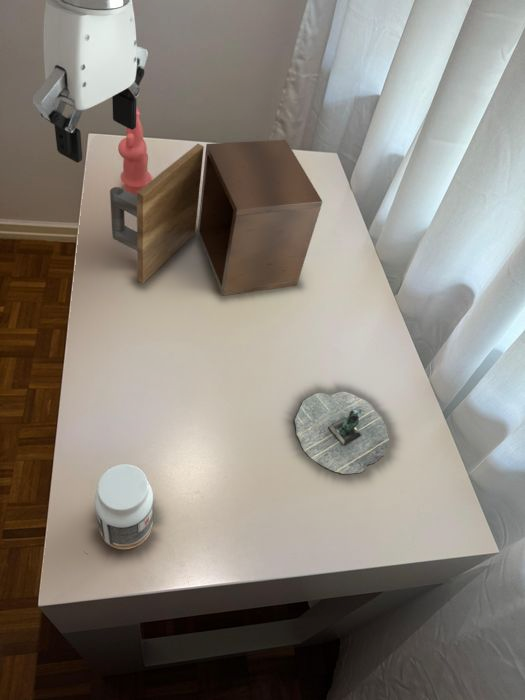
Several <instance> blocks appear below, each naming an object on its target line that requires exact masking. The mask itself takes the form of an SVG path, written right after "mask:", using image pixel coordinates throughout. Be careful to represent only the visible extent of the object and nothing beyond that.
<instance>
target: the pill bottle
mask: <svg viewBox="0 0 525 700" xmlns="http://www.w3.org/2000/svg"><path fill="white" fill-rule="evenodd" d="M93 504H94V509H95V515H96V520H97V527H98V531H99V533H100V536H101V538H102V539H103V540H104V542H105V543H106V544H107V545H108V546H110V547H112V548H115V549H118V550H130V549H134V548H136V547H138V546H140V545H142V544H143V543H144V542H145V541H146V540H147V539H148V537H149V536H150V534H151V532H152V529H153V525H154V524H153V523H154V493H153V489H152V487H151V485H150V483H149V482H148V478H147V475H146V474H145V473H144V471H143V470H142V469H141V468H139V467H138V466H136V465H133V464H129V463H122V464H116V465H114V466H112V467H110V468H108V469H107V470H105V471H104V472H103V473H102V475H101V476H100V478H99V480H98V484H97V489H96V492H95V495H94V503H93Z"/></svg>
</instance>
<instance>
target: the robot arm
mask: <svg viewBox="0 0 525 700" xmlns="http://www.w3.org/2000/svg"><path fill="white" fill-rule="evenodd" d="M136 29H137V28H136V18H135V11H134V4H133V0H45V7H44V17H43V62H44V78H45V81H44V82H43V83H42V85H40V87H39V88H38V89H37V91H36V92H35V93H34V95H32V103H33V105H34V106H35V107H36V109H37V110H38V112H39V113H40V116H41V117H42V118H43V119H45V120H47V121H48V122H49V123H51V124H53V126H54V134H55V143H56V150H57V152H58V153H59V154H60V155H62V156H64V157H66V158H67V159H70V160H71V161H73V162H74V163H80V162H82V161H83V146H82V134H81V130H80V129H79V128H77V126H78V123H79V121H80V119H81V116H82V114H83V111H85V110H88V109H90V108H93V107H94V106H95V107H96V106H97V105H99V104H101V103H103V102H105V101H107V100H109V99H110V98H111V100H112V120H113V121H114V122H116V123H117V124H118V125H119V124H120V125H121V126H123V127H125V128H126V129H127V128H129V129H132V130H133V129H134V128H136V107H137V97H139V95H140V93H141V88H140V87H139V86H140V85H141V82H142V80H143V78H144V76H145V69H144V68H145V67H146V64H147V60H148V58H149V50H148V49H147V48H145V47H143V46H142V45H138V43H137V30H136ZM69 96H70V97H69ZM67 105H69V106H71V108H70V111H69V113H68V116H65V115H63V114H64V111H65V109H66V106H67Z"/></svg>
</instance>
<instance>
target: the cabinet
mask: <svg viewBox="0 0 525 700" xmlns="http://www.w3.org/2000/svg"><path fill="white" fill-rule="evenodd" d="M204 154H205V155H204V164H203V172H202V173H203V174H202V182H201V193H200V202H199V211H198V212H199V214H198V223H197V234H198V237H199V239H200V242H201V245H202V247H203V249H204V252H205V255H206V257H207V259H208V262H209V265H210V267H211V270H212V272H213V276H214V277H215V280H216V283H217V285H218V289H219V291H220V293H221V296H223V297H225V296H231V295H238V294H244V293H252V292H259V291H265V290H266V291H267V290H274V289H279V288H287V287H293V286H294V287H295V286H298V283H299V281H300V278H301V273H302V270H303V267H304V264H305V261H306V257H307V255H308V250H309V247H310V244H311V241H312V238H313V235H314V231H315V228H316V225H317V221H318V218H319V215H320V211H321V208H322V206H323V199H322V198H321V196H320V195H319V193H318V191H317V189H316V187H315V186H314V184H313V183H312V182H311V181H312V180H311V179H310V178H309V177H308V175H307V173H306V171H305V169H304V168H303V166H302V165H301V163H300V161H299V159H298V158H297V156H296V155H295V152H294V151H293V149H292V148H291V145H290V144H289V143H288V141H287V140H286V139H274V140H254V141H237V142H235V141H233V142H218V143H217V142H215V143H206V146H205V153H204Z"/></svg>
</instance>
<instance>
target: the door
mask: <svg viewBox="0 0 525 700" xmlns="http://www.w3.org/2000/svg"><path fill="white" fill-rule="evenodd" d="M204 148H205V146H204V145H202V144H200V143H197V144H196V145H194V146H193V147H191V149H189V150H188V151H187V152H185V153H184V154H183V155H181V156H180V157H179V158H178V159H176V160H175V161H174V162H173V163H171V164H170V165H169V166H167V167H166V168H165V169H163V171H162V172H161V173H159V174H158V175H157V176H155V177H154V178H152V181H150V182H149V183H148V184H147V185H145V186H144V187H143V188H142V189H140V190H139V191H138V192H137V196H136V195H134V194H132V193H130V192H128V191H126V190H124V188H122V187H119V186H114V187H112V188H111V189H110V190H109V199H110V217H111V218H110V219H111V220H110V221H111V237H112V239H113V240H115V241H116V242H118V243H119V244H122V245H123V246H126V247H127V248H130V249H132V250H133V251H136V261H137V262H136V263H137V265H136V267H137V269H136V270H137V271H136V273H137V275H136V276H137V277H136V279H137V282H138V283H141V284H142V285H143V284H145V283H146V282H147V281H148V280H149V279H150V278H151V277H152V276H153V275H155V273H156V272H157V271H158V270H159V269H160V268H161V267H162V266H163V265H164V264H165V263H166V262H167V261H168V260H169V259H170V258H171V257H172V256H173V255H175V254H176V253H177V252H178V251H179V250H180V249H181V248H182V247H183V246H184V245H185V244H186V243H187V242H188V241H189V240H190V239H191V238H192V237H193V236H194V235H195V234H196V231H197V220H198V212H199V211H198V209H199V199H200V188H201V178H202V170H203V158H204ZM126 213H127V214H129V215H131V216H133V217H136V230H135V229H133V228H131V227H129V226H127V225H126V216H125V215H126Z"/></svg>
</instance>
